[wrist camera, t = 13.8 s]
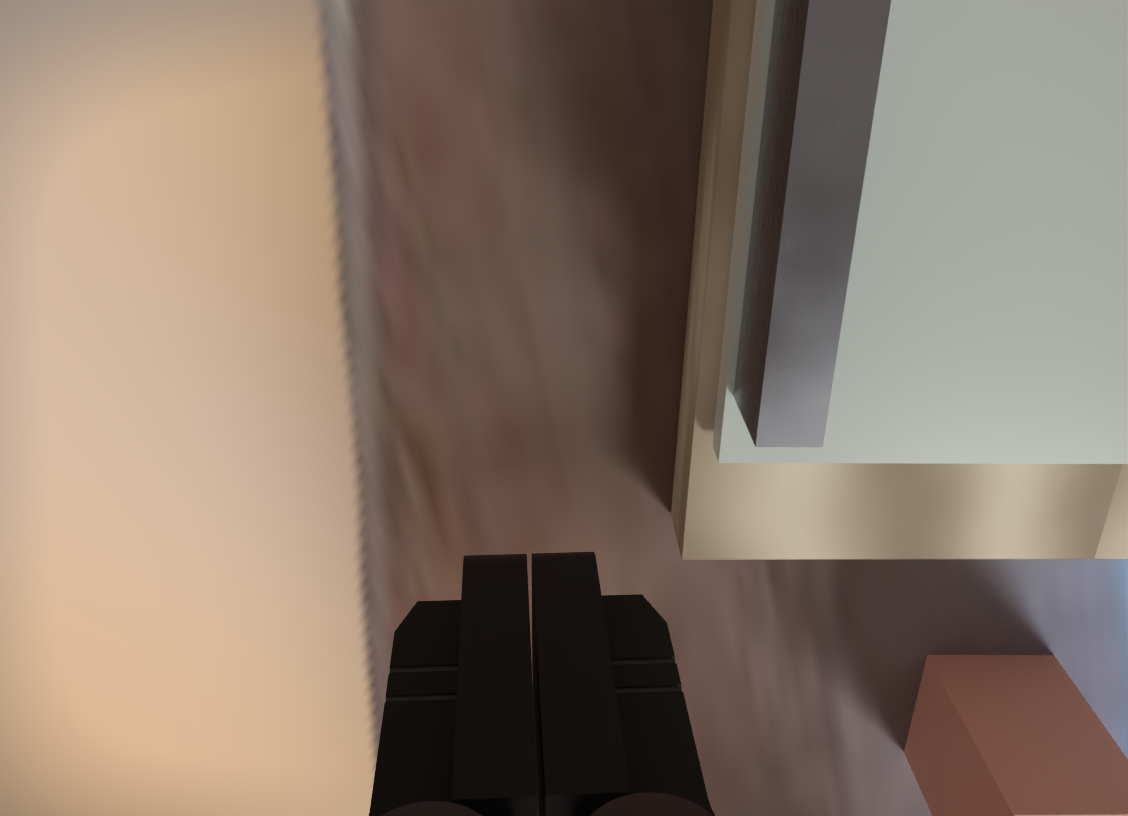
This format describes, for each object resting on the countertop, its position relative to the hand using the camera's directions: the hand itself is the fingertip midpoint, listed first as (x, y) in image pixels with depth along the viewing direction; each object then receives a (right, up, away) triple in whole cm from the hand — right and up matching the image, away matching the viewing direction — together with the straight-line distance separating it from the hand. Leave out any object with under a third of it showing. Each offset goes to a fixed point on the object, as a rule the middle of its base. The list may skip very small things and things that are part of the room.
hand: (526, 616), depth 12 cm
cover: (+10, +8, +14) cm, 19 cm away
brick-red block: (+15, -8, +25) cm, 30 cm away
